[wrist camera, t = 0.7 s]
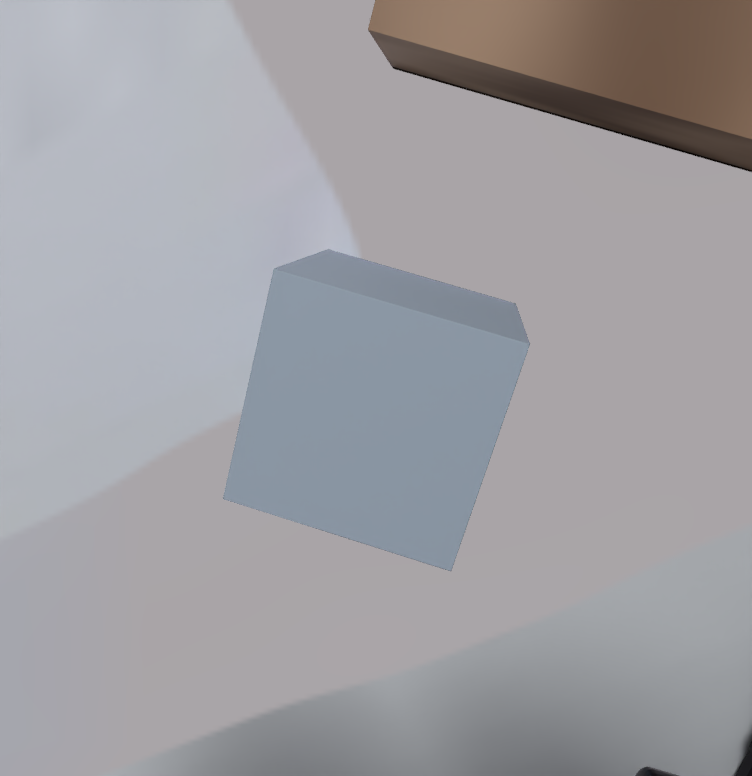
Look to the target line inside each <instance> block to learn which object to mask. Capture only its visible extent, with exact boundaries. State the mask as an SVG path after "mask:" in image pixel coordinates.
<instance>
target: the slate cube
mask: <svg viewBox="0 0 752 776" xmlns="http://www.w3.org/2000/svg"><path fill="white" fill-rule="evenodd" d="M529 345H530V343H529V340H528V337H527V334H526V332H525V329H524V326H523V323H522V320H521V317H520V314H519V311H518V309H517V306H516V304H515V303H512V302H509V301H505V300H502V299H499V298H495V297H492V296H488V295H485V294H481V293H478V292H475V291H471V290H467V289H464V288H461V287H457V286H454V285H450V284H447V283H443V282H440V281H437V280H433V279H430V278H426V277H423V276H419V275H416V274H413V273H409V272H406V271H402V270H399V269H395V268H392V267H388V266H385V265H382V264H378V263H375V262H371V261H368V260H364V259H361V258H356V257H353V256H349V255H346V254H343V253H339V252H336V251H332V250H329V249H328V250H325V251H322V252H319V253H317V254H314V255H311V256H308V257H305V258H303V259H300V260H297V261H294V262H291V263H289V264H286V265H283V266H280V267H277V268H275V269H274V270H273V275H272V279H271V284H270V288H269V293H268V297H267V302H266V306H265V311H264V315H263V320H262V324H261V329H260V334H259V338H258V343H257V347H256V352H255V356H254V361H253V365H252V370H251V374H250V379H249V383H248V388H247V392H246V397H245V401H244V406H243V410H242V415H241V420H240V424H239V429H238V433H237V438H236V442H235V447H234V452H233V456H232V461H231V465H230V469H229V474H228V479H227V483H226V488H225V492H224V497H223V499H225V500H228V501H231V502H234V503H237V504H241V505H244V506H247V507H250V508H253V509H256V510H260V511H263V512H266V513H269V514H272V515H275V516H278V517H282V518H285V519H288V520H291V521H294V522H297V523H300V524H304V525H307V526H310V527H313V528H316V529H320V530H322V531H326V532H329V533H332V534H335V535H339V536H341V537H345V538H348V539H351V540H354V541H357V542H360V543H364V544H367V545H370V546H373V547H376V548H379V549H383V550H385V551H389V552H392V553H395V554H398V555H401V556H404V557H407V558H411V559H414V560H417V561H420V562H423V563H426V564H430V565H433V566H436V567H439V568H442V569H445V570H448V571H451V570H452V567H453V564H454V561H455V558H456V555H457V552H458V550H459V547H460V544H461V541H462V538H463V535H464V532H465V530H466V527H467V524H468V521H469V518H470V515H471V512H472V509H473V507H474V504H475V501H476V498H477V495H478V492H479V489H480V486H481V484H482V480H483V478H484V475H485V472H486V469H487V466H488V463H489V460H490V458H491V455H492V452H493V449H494V446H495V443H496V440H497V437H498V435H499V432H500V429H501V426H502V423H503V420H504V417H505V414H506V412H507V408H508V406H509V403H510V400H511V397H512V394H513V391H514V388H515V386H516V383H517V380H518V377H519V374H520V371H521V368H522V365H523V363H524V360H525V357H526V354H527V351H528V348H529Z"/></svg>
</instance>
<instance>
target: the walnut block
mask: <svg viewBox="0 0 752 776" xmlns="http://www.w3.org/2000/svg"><path fill="white" fill-rule="evenodd" d="M368 30H369V32H370V33H371V35H372V37H373V38H374V40H375V41H376V43H377V44H378V46H379V47H380V49H381V50H382V52H383V53H384V55H385V56H386V58H387V60H388V61H389V62H390V64H391V66H392V67H393V69H396V70H399V71H403V72H406V73H410V74H413V75H417V76H420V77H423V78H427V79H431V80H434V81H438V82H441V83H444V84H448V85H451V86H455V87H458V88H462V89H465V90H469V91H472V92H475V93H479V94H482V95H486V96H490V97H493V98H496V99H500V100H503V101H507V102H511V103H514V104H517V105H521V106H524V107H527V108H531V109H534V110H538V111H541V112H545V113H549V114H552V115H555V116H559V117H562V118H566V119H569V120H572V121H576V122H580V123H583V124H586V125H590V126H593V127H597V128H600V129H604V130H607V131H611V132H614V133H618V134H621V135H624V136H628V137H631V138H635V139H638V140H642V141H646V142H649V143H652V144H656V145H659V146H663V147H666V148H670V149H673V150H677V151H680V152H683V153H687V154H691V155H694V156H697V157H701V158H705V159H708V160H711V161H715V162H718V163H722V164H725V165H728V166H732V167H735V168H739V169H742V170H746V171H749V172H752V0H375V4H374V8H373V12H372V16H371V20H370V24H369V28H368Z"/></svg>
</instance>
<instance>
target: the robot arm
mask: <svg viewBox="0 0 752 776" xmlns="http://www.w3.org/2000/svg"><path fill="white" fill-rule="evenodd" d="M636 776H679V775H675V774H672V773H668V772H665V771H662V770H658V769H655V768H651V767H645V768H642V769H640V770H639V771H638V772H637V774H636ZM735 776H752V742H751V744H750V750H749V752H748V754H747V756H746V757H745V759H744V761H743V763H742V765H741V766H740V768H739V770H738V772H737V774H736V775H735Z"/></svg>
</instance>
